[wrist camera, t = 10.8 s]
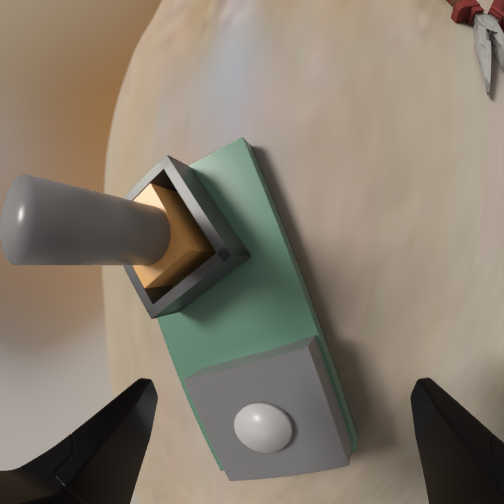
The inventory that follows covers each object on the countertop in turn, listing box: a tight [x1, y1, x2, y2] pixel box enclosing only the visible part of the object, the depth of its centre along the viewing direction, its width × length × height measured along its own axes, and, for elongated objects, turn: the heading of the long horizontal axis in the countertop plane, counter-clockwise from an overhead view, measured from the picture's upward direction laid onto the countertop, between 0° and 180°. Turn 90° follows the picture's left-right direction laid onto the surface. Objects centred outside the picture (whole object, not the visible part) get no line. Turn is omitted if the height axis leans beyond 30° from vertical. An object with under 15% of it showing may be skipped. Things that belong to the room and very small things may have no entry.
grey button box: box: [183, 335, 351, 481], centre depth 16 cm, size 8×8×3 cm
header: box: [123, 155, 252, 319], centre depth 18 cm, size 7×6×3 cm
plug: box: [0, 174, 216, 288], centre depth 14 cm, size 4×4×12 cm
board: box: [157, 137, 358, 471], centre depth 19 cm, size 21×10×2 cm, turn 21°
